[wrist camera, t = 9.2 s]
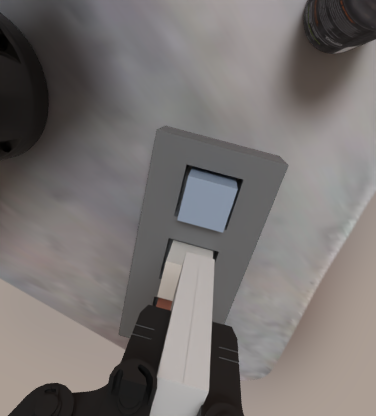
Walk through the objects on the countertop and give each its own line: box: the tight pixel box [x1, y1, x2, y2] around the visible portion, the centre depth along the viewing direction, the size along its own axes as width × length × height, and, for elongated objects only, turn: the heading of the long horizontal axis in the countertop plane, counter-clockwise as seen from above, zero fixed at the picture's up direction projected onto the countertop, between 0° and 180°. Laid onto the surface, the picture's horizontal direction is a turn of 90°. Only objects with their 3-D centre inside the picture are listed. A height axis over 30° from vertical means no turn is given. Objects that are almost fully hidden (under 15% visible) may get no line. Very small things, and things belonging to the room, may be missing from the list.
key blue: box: [177, 166, 238, 233], centre depth 25 cm, size 4×4×4 cm
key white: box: [157, 240, 213, 301], centre depth 27 cm, size 4×4×4 cm
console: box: [119, 126, 288, 338], centre depth 30 cm, size 12×26×4 cm, turn 166°
